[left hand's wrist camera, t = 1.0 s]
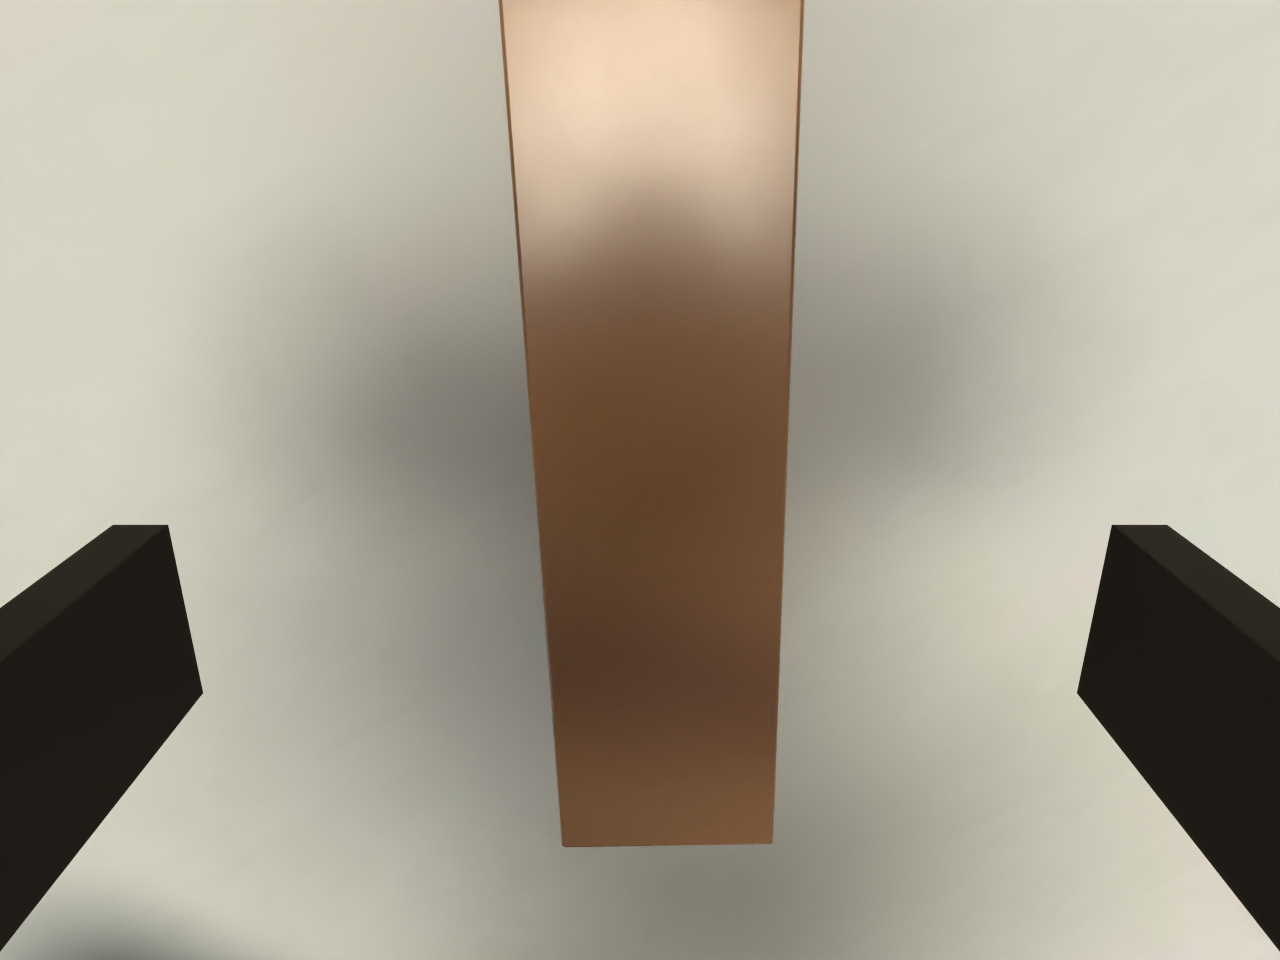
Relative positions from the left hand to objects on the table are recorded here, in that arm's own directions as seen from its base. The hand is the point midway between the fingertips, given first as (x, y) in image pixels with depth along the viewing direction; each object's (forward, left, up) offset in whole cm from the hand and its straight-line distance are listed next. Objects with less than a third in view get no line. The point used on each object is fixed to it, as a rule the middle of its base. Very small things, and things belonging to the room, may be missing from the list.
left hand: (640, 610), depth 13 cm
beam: (+21, +9, -14) cm, 27 cm away
